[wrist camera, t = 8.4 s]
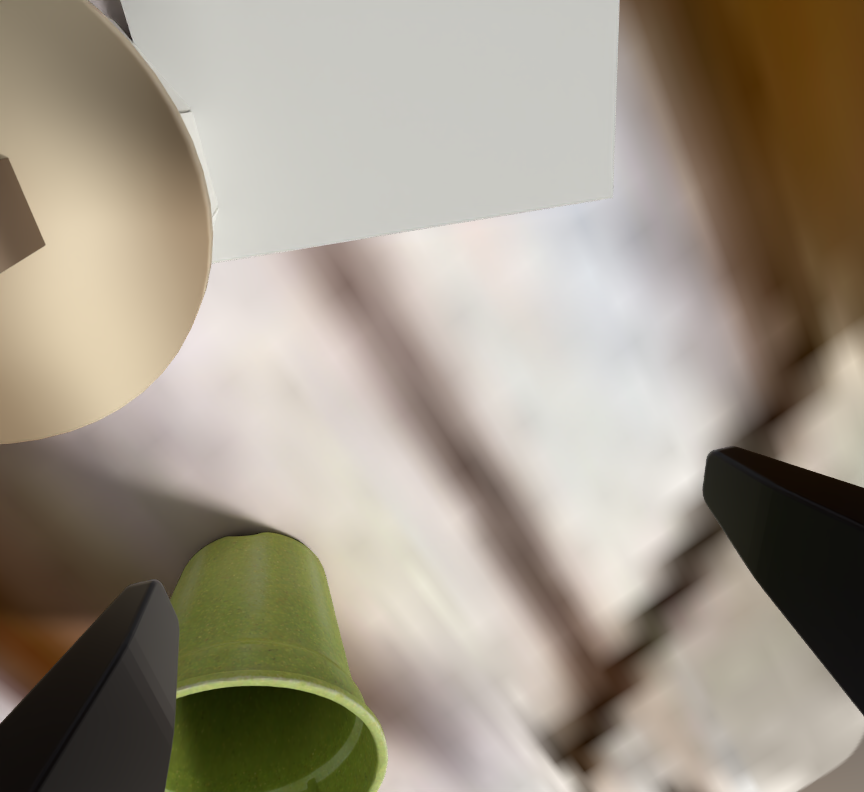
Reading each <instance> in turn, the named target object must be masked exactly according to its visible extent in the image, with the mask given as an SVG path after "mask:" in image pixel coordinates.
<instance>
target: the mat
mask: <svg viewBox="0 0 864 792" xmlns="http://www.w3.org/2000/svg"><path fill="white" fill-rule="evenodd" d="M120 1H121V4H122V8H123V11H124V14H125V17H126V21H127V24H128V27H129V30H130V34H131V37H132V40H133V43H134V45H135V46H136V47H137V48H138V49H139V50H140V51H141V53H142V54H143V55H144V56H145V57H146V58H147V59H148V61H149V62H150V63H151V64H152V65H153V66H154V67H155V69H156V70H157V71H158V72H159V73H160V74H161V75H162V77H163V78H164V79H165V80H166V81H167V82H168V83H169V85H170V86H171V87H172V88H173V89H174V90H175V91H176V93H177V94H178V95H179V96H180V97H181V98H182V99H183V101H184V102H185V103H186V104H187V105H188V106H189V107H190V110H189V111H188V112H192V113H193V116H194V120H195V123H196V127H197V131H198V134H199V138H200V141H201V145H202V148H203V152H204V156H205V159H206V163H207V166H208V170H209V174H210V177H211V181H212V184H213V188H214V191H215V195H216V199H217V202H218V207H217V208H218V211H217V215H216V219H215V222H214V226H213V247H212V263H211V264H213V263H219V262H225V261H231V260H237V259H243V258H249V257H255V256H262V255H268V254H274V253H280V252H286V251H292V250H298V249H304V248H310V247H316V246H322V245H329V244H335V243H341V242H347V241H353V240H359V239H365V238H371V237H377V236H383V235H389V234H396V233H402V232H408V231H414V230H420V229H426V228H432V227H438V226H444V225H450V224H456V223H463V222H469V221H475V220H481V219H487V218H493V217H499V216H505V215H511V214H517V213H523V212H530V211H536V210H542V209H548V208H554V207H560V206H566V205H572V204H578V203H584V202H590V201H597V200H603V199H609V198H613V178H614V148H615V118H616V88H617V59H618V29H619V0H120Z"/></svg>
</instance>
